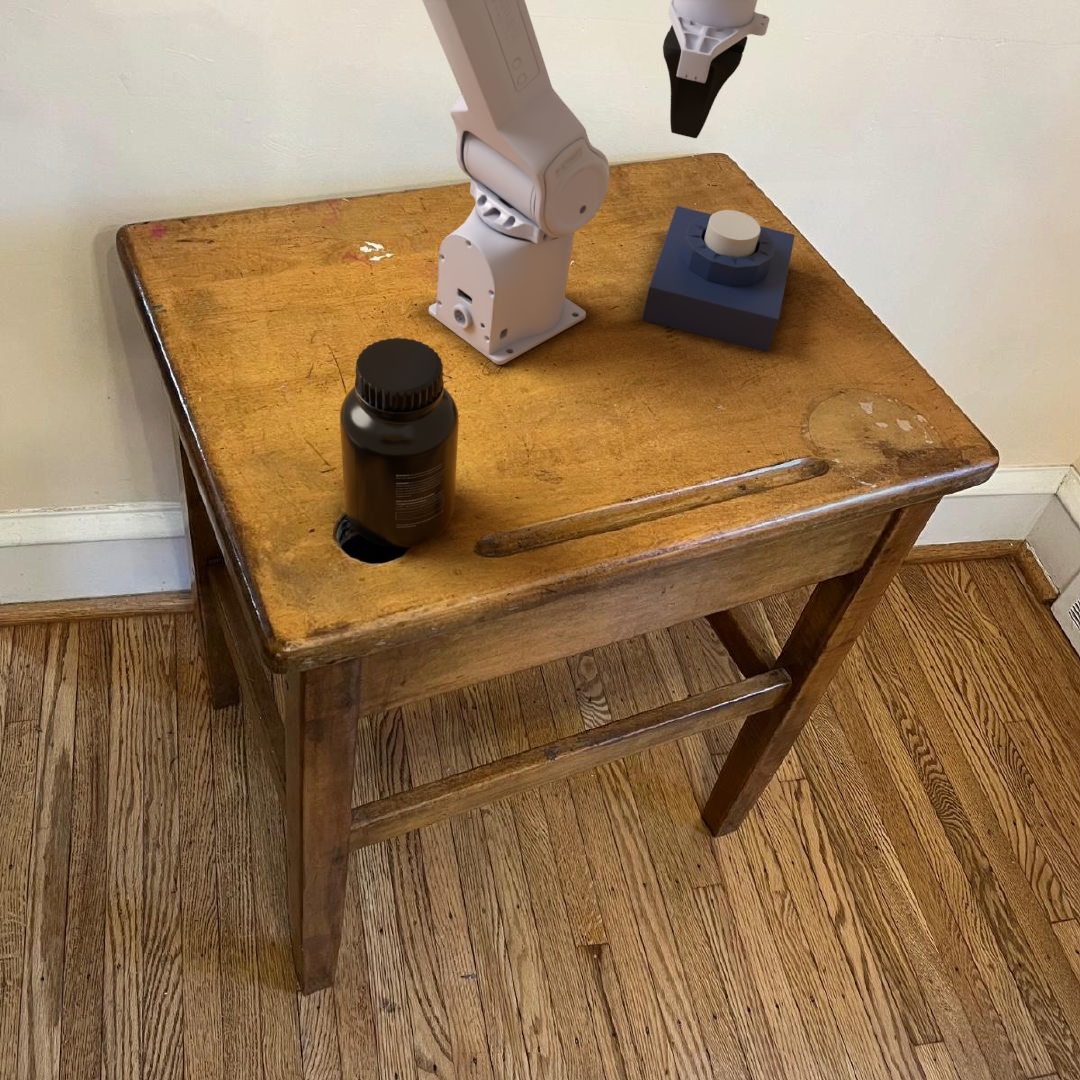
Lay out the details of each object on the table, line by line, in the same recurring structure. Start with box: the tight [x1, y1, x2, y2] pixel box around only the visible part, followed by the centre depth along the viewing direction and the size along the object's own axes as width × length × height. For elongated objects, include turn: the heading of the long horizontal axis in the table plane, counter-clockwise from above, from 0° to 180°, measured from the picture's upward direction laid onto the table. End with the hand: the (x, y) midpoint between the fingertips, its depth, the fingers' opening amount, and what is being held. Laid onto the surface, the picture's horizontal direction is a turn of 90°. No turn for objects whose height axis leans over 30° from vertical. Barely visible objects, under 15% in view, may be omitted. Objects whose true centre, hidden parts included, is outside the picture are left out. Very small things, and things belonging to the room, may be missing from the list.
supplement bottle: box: [339, 337, 460, 549], centre depth 63 cm, size 7×7×12 cm
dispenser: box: [641, 205, 796, 353], centre depth 85 cm, size 12×10×5 cm
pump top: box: [704, 209, 761, 258], centre depth 83 cm, size 4×4×2 cm
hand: (685, 131), depth 82 cm, fingers closed
